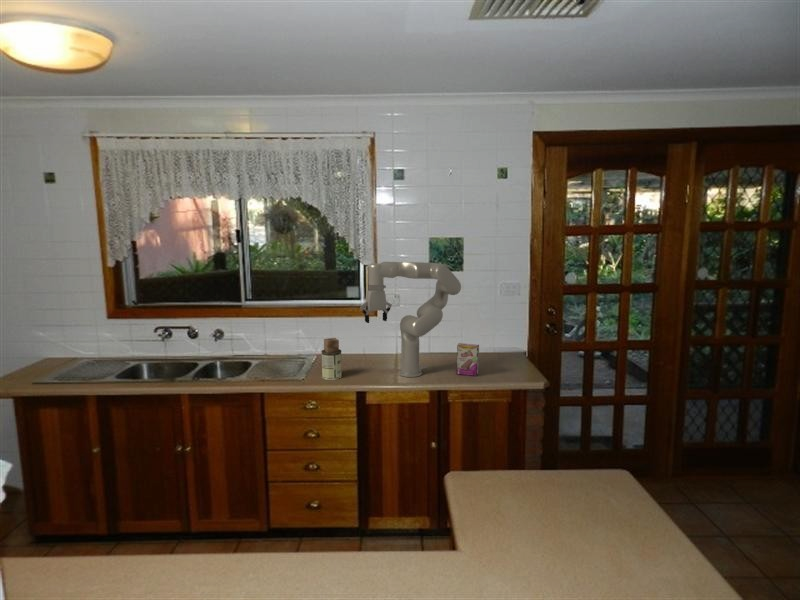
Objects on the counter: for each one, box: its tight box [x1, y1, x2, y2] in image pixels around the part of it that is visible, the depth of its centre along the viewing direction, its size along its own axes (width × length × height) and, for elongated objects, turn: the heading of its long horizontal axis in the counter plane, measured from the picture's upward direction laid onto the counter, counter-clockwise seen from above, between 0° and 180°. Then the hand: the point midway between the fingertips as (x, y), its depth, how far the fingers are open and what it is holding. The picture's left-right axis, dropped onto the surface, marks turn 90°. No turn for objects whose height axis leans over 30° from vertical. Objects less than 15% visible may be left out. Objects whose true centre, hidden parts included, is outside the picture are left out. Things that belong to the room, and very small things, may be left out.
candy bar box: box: [455, 342, 480, 377], centre depth 270 cm, size 11×5×16 cm, turn 74°
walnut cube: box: [323, 337, 340, 353], centre depth 263 cm, size 6×6×6 cm
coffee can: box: [321, 348, 343, 381], centre depth 265 cm, size 10×10×14 cm
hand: (376, 321), depth 258 cm, fingers open, 9 cm apart
